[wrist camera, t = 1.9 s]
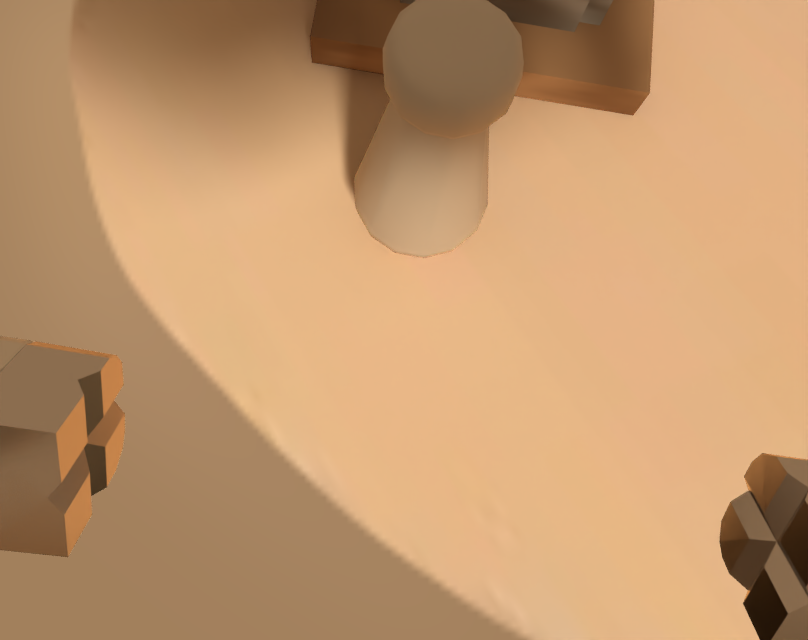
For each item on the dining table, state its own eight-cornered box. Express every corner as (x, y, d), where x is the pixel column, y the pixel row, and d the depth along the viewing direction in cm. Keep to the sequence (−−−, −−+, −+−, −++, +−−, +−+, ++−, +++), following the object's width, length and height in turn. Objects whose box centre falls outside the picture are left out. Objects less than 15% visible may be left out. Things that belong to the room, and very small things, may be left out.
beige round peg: (351, 157, 34) (355, -50, 21) (471, 155, 34) (545, -48, 22) (356, 275, 32) (363, 128, 20) (481, 272, 33) (566, 126, 20)
